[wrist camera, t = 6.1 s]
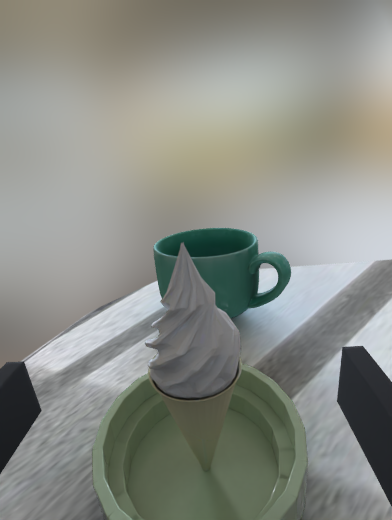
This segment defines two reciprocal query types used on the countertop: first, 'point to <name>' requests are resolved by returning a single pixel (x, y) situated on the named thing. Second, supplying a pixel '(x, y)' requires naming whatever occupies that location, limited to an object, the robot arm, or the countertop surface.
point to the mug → (223, 266)
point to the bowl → (187, 466)
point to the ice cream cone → (195, 359)
